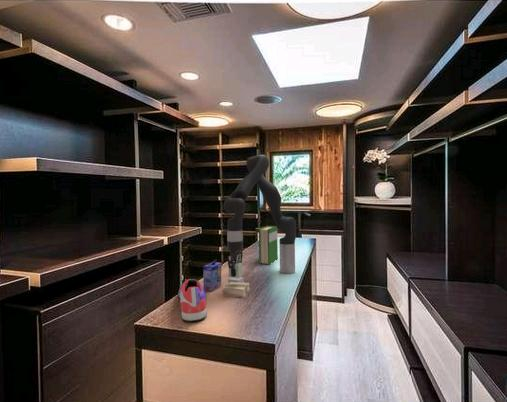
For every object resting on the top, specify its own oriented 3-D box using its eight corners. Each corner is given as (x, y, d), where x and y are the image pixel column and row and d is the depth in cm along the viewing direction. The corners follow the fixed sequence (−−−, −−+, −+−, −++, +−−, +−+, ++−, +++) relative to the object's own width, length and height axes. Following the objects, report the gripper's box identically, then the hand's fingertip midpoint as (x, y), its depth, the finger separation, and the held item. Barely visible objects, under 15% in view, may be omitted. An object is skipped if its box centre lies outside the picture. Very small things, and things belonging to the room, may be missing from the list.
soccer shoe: (204, 290, 143) (203, 264, 143) (212, 322, 108) (211, 286, 108) (178, 293, 140) (177, 266, 140) (177, 326, 105) (176, 290, 105)
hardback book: (269, 265, 192) (268, 229, 191) (259, 264, 195) (258, 228, 194) (277, 259, 208) (277, 226, 208) (268, 258, 211) (267, 225, 210)
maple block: (230, 289, 145) (230, 281, 145) (249, 291, 142) (249, 283, 142) (223, 296, 135) (222, 288, 135) (243, 298, 133) (243, 289, 132)
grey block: (234, 283, 154) (234, 276, 154) (244, 285, 151) (244, 277, 151) (228, 286, 149) (228, 279, 149) (238, 288, 146) (238, 280, 146)
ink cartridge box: (212, 291, 141) (212, 262, 141) (202, 290, 143) (202, 261, 143) (222, 285, 150) (221, 258, 150) (212, 284, 152) (212, 257, 152)
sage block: (232, 274, 142) (232, 262, 142) (242, 275, 141) (242, 262, 141) (228, 277, 138) (228, 264, 138) (238, 278, 136) (238, 265, 136)
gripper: (233, 237, 147) (234, 270, 147) (221, 241, 133) (222, 278, 134) (247, 237, 144) (248, 271, 145) (236, 242, 131) (237, 279, 131)
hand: (235, 274), depth 139 cm, fingers closed on sage block, 5 cm apart
